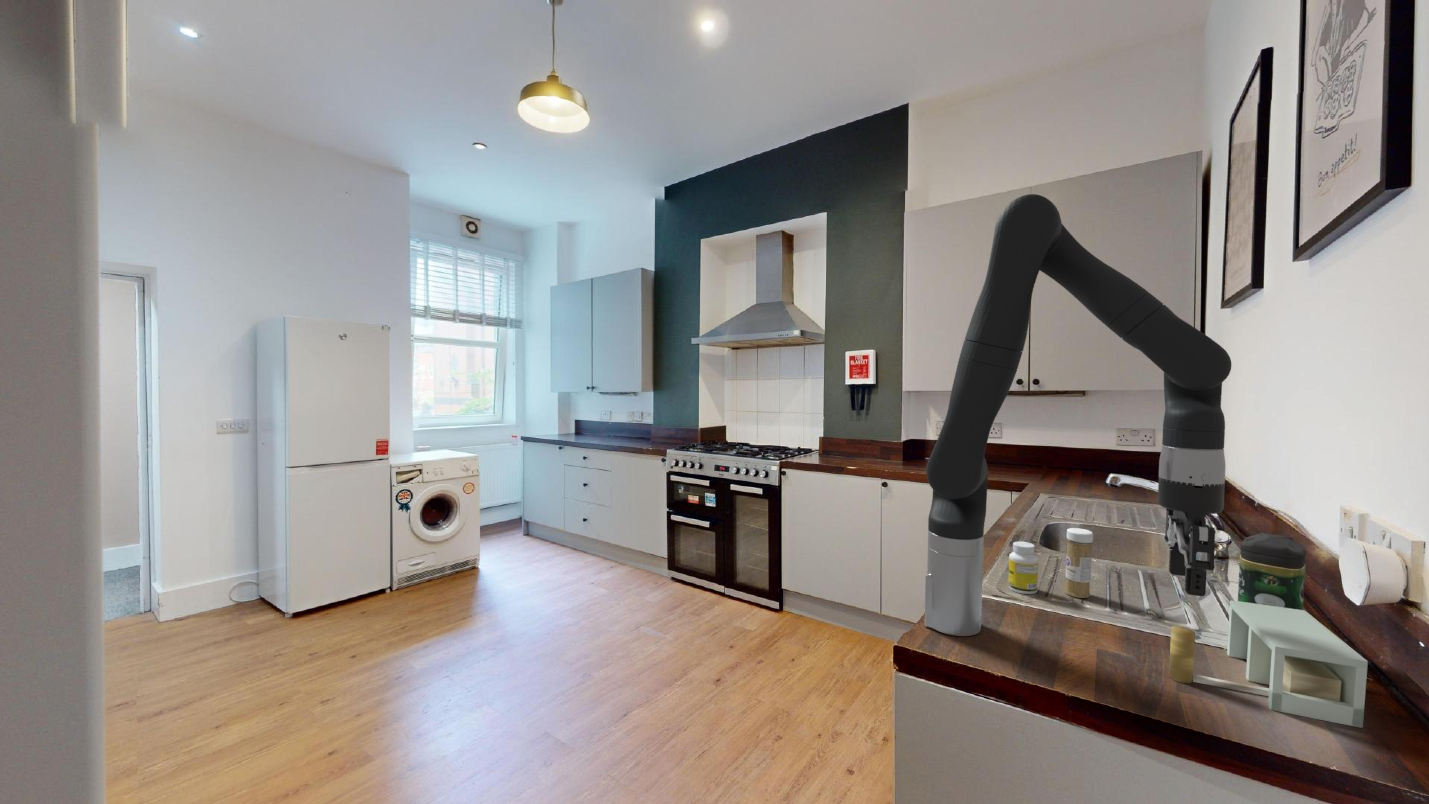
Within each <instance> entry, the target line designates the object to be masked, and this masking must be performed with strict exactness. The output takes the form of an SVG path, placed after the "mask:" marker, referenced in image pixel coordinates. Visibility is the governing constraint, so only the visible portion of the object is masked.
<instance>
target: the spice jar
mask: <svg viewBox="0 0 1429 804" xmlns="http://www.w3.org/2000/svg"><path fill="white" fill-rule="evenodd" d="M1066 540H1067V543H1066V545H1067V546H1066V557H1065V559H1066V560H1065V562H1066V563H1065V584H1064V585H1065V586H1064V590H1063V591H1064V593H1065V594H1066V595H1068V596H1070V597H1073V598H1077V599H1087V598H1090V597H1091V593H1090V588H1091V587H1090V586H1091V579H1092V578H1091V576H1092V548H1093V547H1092V545H1093V542H1094V533H1093V532H1092V531H1091V530H1089V529H1084V528H1078V527H1070V528H1067V530H1066Z"/></svg>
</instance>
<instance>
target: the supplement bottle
mask: <svg viewBox="0 0 1429 804" xmlns="http://www.w3.org/2000/svg"><path fill="white" fill-rule="evenodd" d="M1035 547H1036V546H1035V545H1034V543H1031V542H1028V541H1027V542H1026V541H1014V542H1013V543H1012V552H1011V553H1010V554H1009V556H1008V588H1009V589H1010V590H1011V591H1013V592H1015V593H1018V594H1022V595H1034V594H1036V593H1037V592H1038V583H1039V582H1038V581H1039V580H1038V579H1039V577H1038V575H1039V559H1038V558H1039V557H1038V556H1037V555H1036V554H1034V553H1035V552H1036V549H1035Z"/></svg>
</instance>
